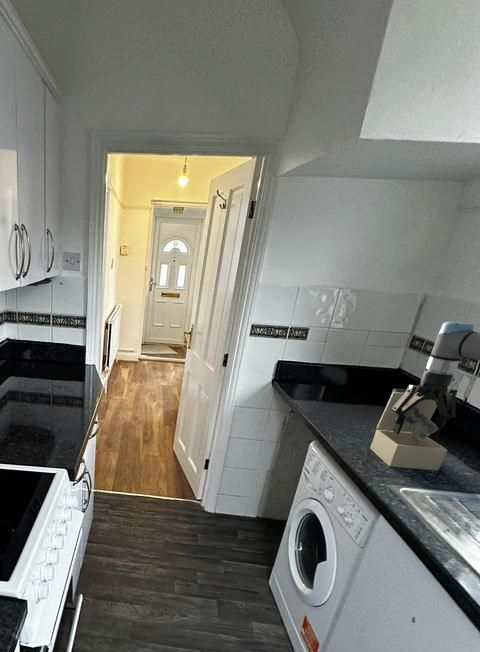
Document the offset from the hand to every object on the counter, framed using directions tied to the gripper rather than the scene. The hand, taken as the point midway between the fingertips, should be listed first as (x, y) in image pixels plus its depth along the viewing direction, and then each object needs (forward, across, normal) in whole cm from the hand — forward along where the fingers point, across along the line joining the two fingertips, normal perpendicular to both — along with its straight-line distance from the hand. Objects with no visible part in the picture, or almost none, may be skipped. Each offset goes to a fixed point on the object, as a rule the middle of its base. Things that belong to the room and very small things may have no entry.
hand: (414, 434), depth 140 cm
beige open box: (+10, 0, -1) cm, 10 cm away
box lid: (-5, 0, -6) cm, 8 cm away
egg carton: (-2, 0, -3) cm, 4 cm away
